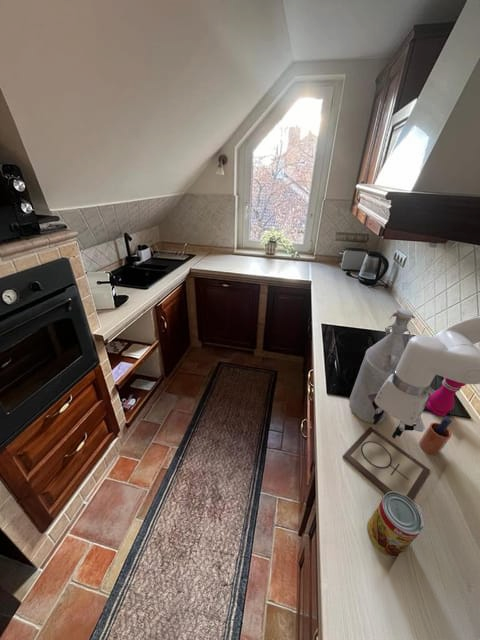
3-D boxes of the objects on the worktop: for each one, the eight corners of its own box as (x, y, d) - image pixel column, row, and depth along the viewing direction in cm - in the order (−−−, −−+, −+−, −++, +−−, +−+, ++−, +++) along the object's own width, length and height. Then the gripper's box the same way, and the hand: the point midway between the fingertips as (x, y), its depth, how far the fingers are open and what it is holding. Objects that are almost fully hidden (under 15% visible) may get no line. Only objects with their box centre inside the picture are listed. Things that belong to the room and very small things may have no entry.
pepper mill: (424, 399, 97) (448, 358, 86) (447, 408, 93) (475, 367, 83) (423, 411, 91) (448, 369, 81) (447, 421, 88) (476, 379, 78)
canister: (347, 418, 88) (382, 321, 68) (350, 385, 102) (381, 296, 81) (387, 432, 84) (438, 333, 63) (385, 396, 97) (427, 304, 77)
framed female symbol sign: (429, 472, 73) (431, 469, 72) (405, 511, 64) (407, 509, 64) (369, 428, 85) (370, 426, 84) (342, 456, 76) (343, 454, 76)
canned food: (387, 564, 56) (407, 542, 49) (359, 524, 62) (374, 500, 56) (411, 546, 58) (433, 523, 52) (382, 509, 64) (399, 485, 58)
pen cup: (440, 449, 79) (453, 431, 74) (434, 459, 76) (447, 441, 71) (422, 437, 82) (433, 419, 78) (415, 446, 80) (427, 428, 75)
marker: (433, 447, 79) (452, 419, 72) (431, 451, 78) (450, 423, 71) (426, 443, 80) (445, 415, 73) (424, 446, 79) (443, 418, 72)
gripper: (454, 395, 59) (423, 443, 69) (382, 358, 71) (364, 403, 80) (443, 411, 55) (411, 459, 65) (369, 369, 66) (351, 415, 76)
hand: (385, 427), depth 72 cm, fingers open, 4 cm apart
